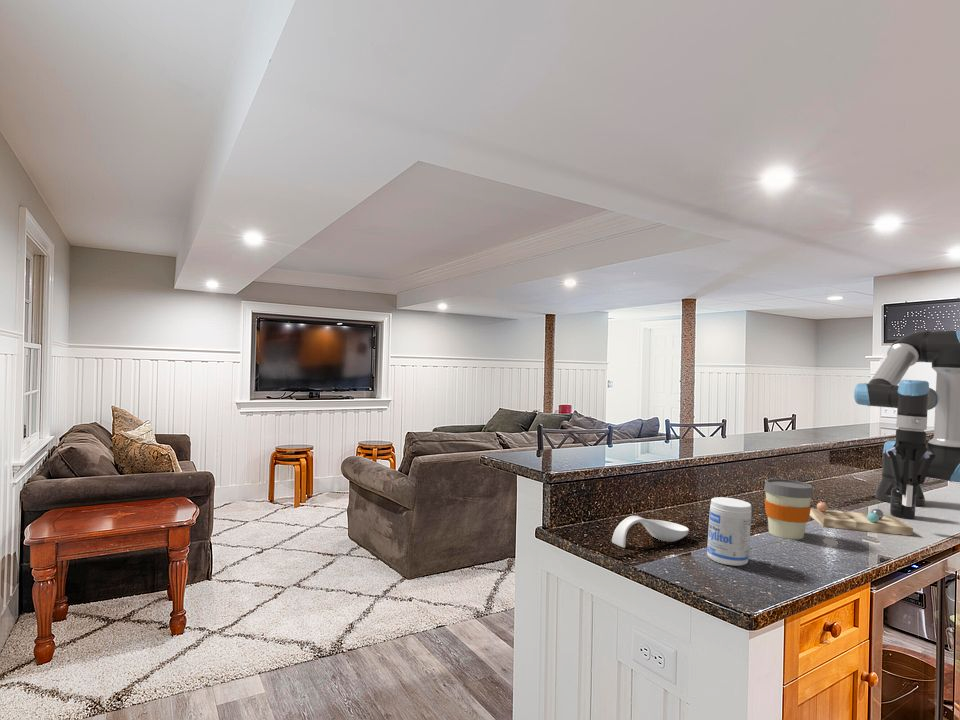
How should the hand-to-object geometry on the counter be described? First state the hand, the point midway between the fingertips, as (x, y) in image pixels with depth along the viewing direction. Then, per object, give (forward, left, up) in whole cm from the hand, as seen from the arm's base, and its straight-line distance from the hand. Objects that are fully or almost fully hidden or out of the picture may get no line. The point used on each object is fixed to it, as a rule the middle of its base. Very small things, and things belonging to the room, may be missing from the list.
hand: (906, 505), depth 175 cm
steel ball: (+8, 0, -4) cm, 9 cm away
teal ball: (+11, +5, -4) cm, 12 cm away
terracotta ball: (+22, -3, -4) cm, 23 cm away
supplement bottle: (-7, -19, -8) cm, 22 cm away
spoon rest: (+78, +41, -8) cm, 88 cm away
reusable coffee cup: (+39, +20, -8) cm, 44 cm away
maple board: (+13, 0, -8) cm, 15 cm away
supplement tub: (+60, +50, -8) cm, 78 cm away
